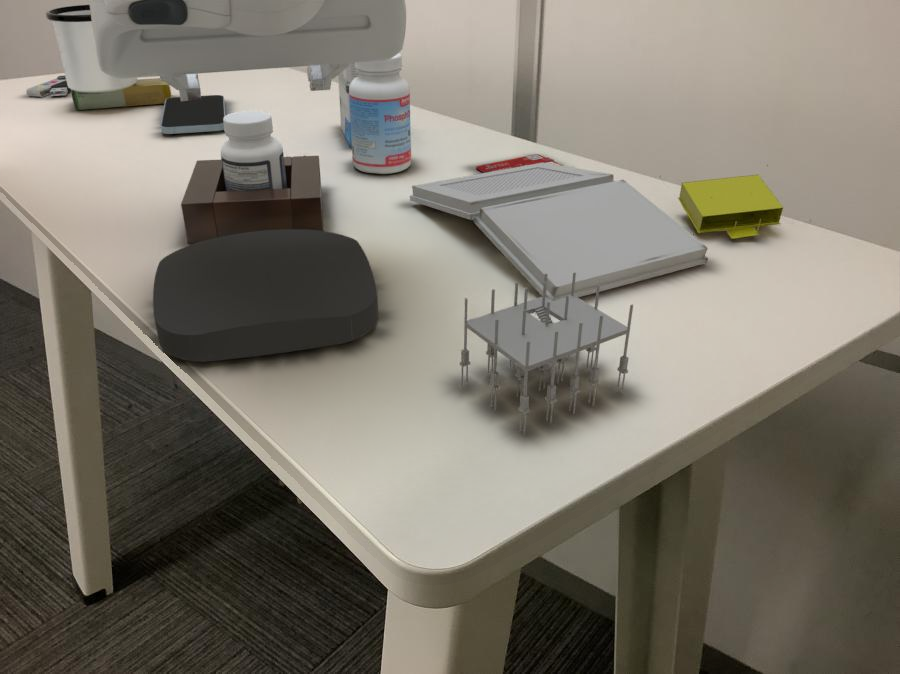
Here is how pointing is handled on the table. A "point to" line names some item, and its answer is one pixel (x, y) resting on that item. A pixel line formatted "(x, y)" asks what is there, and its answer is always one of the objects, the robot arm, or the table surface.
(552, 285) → the gadget
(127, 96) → the medication box
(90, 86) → the mug
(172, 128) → the smartphone
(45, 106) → the table surface
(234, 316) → the media streaming box
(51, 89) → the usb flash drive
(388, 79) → the pill bottle
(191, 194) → the holder
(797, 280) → the table surface
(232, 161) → the pill bottle
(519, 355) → the building frame
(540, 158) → the card
